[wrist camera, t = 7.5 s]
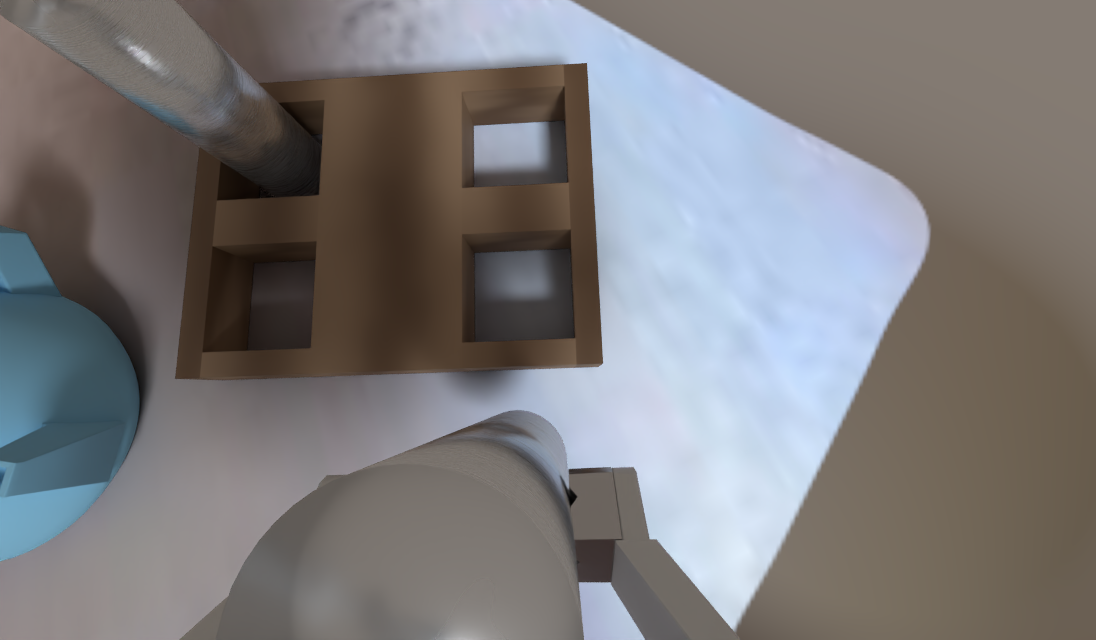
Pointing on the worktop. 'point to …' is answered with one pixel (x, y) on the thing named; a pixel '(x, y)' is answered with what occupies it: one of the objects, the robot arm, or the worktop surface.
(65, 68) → the worktop surface
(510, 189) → the socket board
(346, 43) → the worktop surface
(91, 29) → the pin
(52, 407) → the teapot
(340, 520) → the pin
